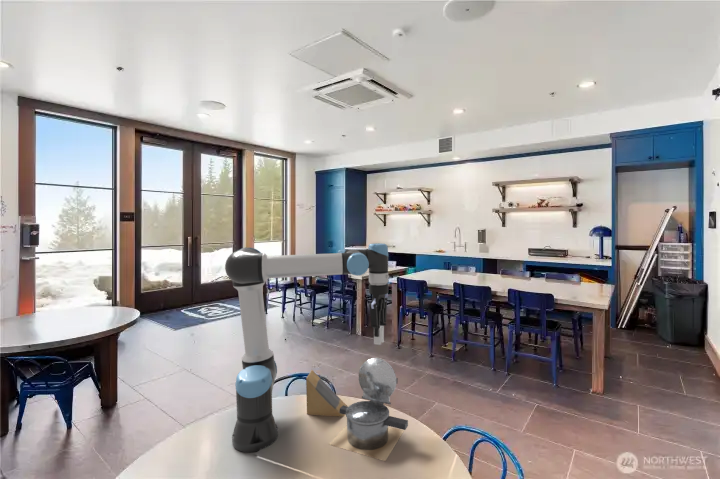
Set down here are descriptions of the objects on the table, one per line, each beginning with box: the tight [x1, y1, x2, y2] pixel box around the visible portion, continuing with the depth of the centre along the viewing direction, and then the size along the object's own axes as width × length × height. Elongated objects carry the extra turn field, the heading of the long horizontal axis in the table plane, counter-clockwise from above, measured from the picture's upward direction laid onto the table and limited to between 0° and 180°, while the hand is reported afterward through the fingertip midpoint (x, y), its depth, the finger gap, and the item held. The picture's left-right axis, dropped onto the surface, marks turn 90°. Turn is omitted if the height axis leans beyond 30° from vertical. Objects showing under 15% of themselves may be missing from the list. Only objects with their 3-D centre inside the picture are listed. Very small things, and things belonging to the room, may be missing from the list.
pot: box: [340, 400, 409, 450], centre depth 125 cm, size 24×16×9 cm, turn 64°
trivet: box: [328, 424, 405, 462], centre depth 126 cm, size 20×18×1 cm
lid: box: [358, 357, 399, 406], centre depth 133 cm, size 14×15×3 cm
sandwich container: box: [305, 369, 348, 417], centre depth 144 cm, size 9×15×15 cm, turn 83°
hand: (378, 343), depth 144 cm, fingers open, 2 cm apart
